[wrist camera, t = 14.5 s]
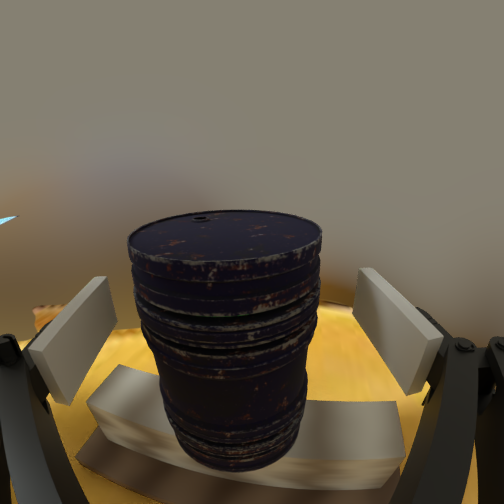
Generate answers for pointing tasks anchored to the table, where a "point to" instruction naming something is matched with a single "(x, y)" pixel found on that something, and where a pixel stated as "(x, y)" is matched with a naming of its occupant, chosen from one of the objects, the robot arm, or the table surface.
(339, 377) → the table surface
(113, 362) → the table surface
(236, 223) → the storage jar
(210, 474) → the ridge stand
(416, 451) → the robot arm
